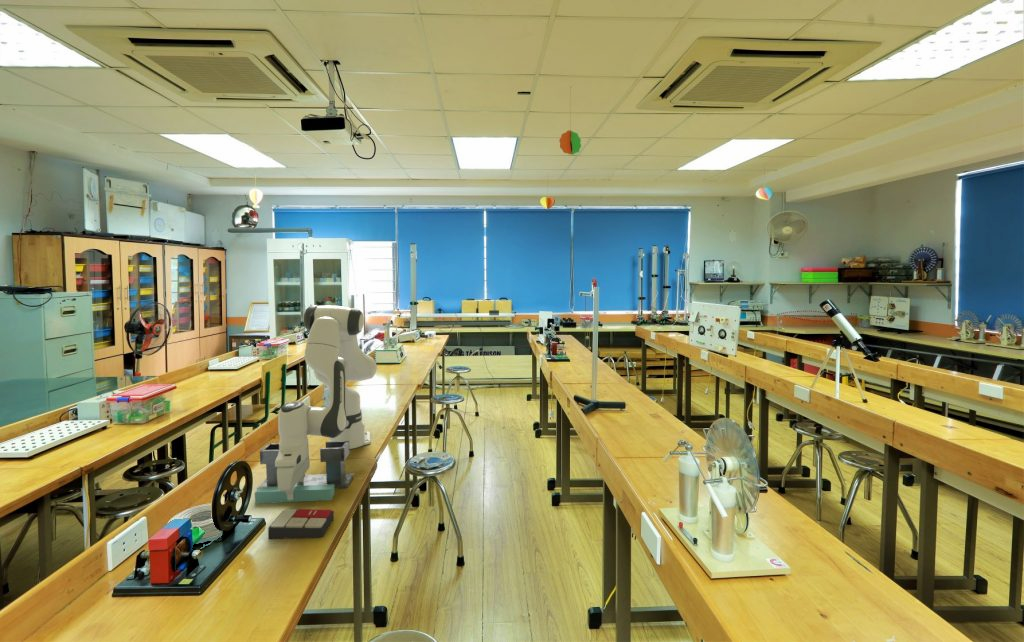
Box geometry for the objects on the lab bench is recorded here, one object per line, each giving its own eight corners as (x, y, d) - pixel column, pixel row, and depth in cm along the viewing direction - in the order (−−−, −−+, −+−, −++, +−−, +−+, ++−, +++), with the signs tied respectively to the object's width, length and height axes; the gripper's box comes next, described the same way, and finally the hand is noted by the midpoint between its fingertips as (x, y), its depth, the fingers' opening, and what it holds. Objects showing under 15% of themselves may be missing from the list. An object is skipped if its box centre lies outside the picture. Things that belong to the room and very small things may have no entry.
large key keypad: (322, 526, 139) (267, 525, 138) (322, 541, 139) (267, 540, 138) (334, 508, 150) (283, 507, 149) (334, 521, 150) (283, 520, 149)
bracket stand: (268, 479, 179) (266, 442, 178) (353, 476, 182) (352, 439, 181) (257, 491, 169) (255, 452, 168) (347, 487, 172) (346, 449, 171)
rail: (260, 498, 165) (259, 487, 164) (334, 495, 167) (334, 484, 166) (255, 504, 161) (254, 492, 160) (331, 501, 163) (331, 489, 162)
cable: (197, 555, 131) (196, 533, 130) (149, 544, 136) (147, 523, 136) (250, 523, 148) (249, 504, 147) (205, 515, 153) (204, 496, 152)
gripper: (294, 442, 172) (296, 480, 173) (272, 463, 152) (274, 507, 153) (313, 441, 173) (315, 479, 174) (293, 463, 153) (295, 506, 154)
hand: (295, 492), depth 163 cm, fingers open, 8 cm apart
